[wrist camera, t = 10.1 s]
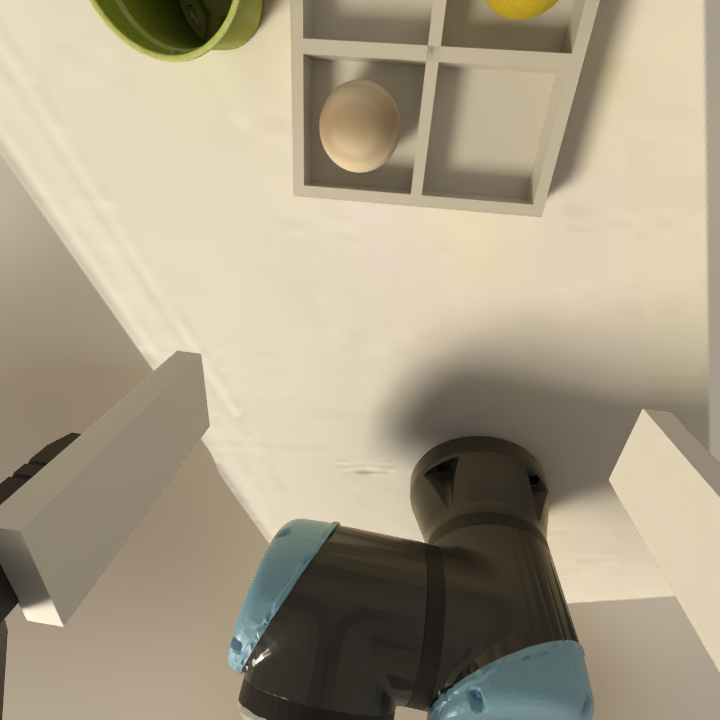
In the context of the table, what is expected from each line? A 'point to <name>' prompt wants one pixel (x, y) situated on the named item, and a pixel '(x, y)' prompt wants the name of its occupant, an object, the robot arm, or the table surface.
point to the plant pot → (180, 25)
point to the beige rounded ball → (359, 126)
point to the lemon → (520, 8)
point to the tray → (441, 98)
